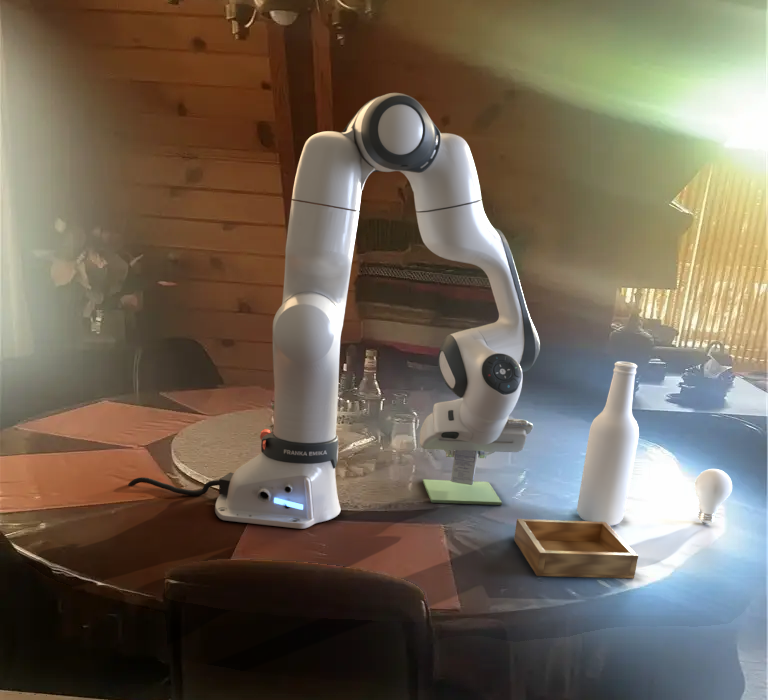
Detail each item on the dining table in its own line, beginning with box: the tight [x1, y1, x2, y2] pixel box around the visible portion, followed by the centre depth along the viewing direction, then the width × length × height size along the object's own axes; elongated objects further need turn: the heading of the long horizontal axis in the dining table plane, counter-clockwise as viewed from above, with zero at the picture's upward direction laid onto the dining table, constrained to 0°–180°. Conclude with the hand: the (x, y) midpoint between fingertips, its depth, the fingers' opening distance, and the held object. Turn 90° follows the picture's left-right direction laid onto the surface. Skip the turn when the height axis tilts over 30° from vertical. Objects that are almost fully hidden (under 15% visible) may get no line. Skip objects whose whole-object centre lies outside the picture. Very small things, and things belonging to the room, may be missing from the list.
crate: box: [513, 518, 639, 579], centre depth 126 cm, size 16×14×4 cm
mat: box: [422, 479, 503, 506], centre depth 153 cm, size 14×12×1 cm
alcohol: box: [576, 361, 640, 527], centre depth 141 cm, size 9×9×30 cm
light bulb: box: [694, 468, 733, 525], centre depth 145 cm, size 7×7×11 cm
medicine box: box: [450, 450, 478, 485], centre depth 151 cm, size 8×4×9 cm, turn 171°
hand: (465, 454), depth 151 cm, fingers closed on medicine box, 5 cm apart
